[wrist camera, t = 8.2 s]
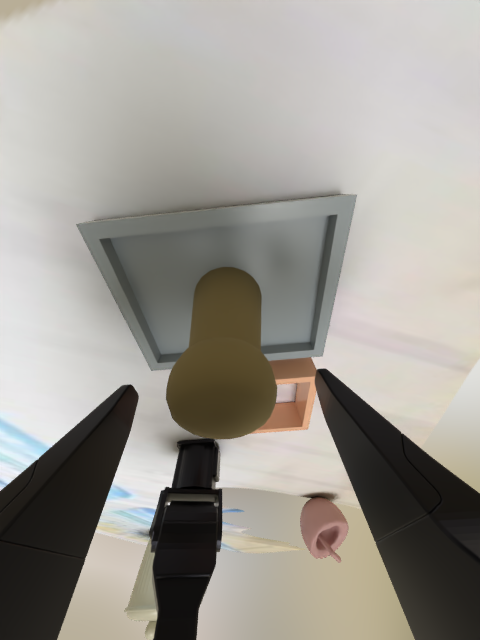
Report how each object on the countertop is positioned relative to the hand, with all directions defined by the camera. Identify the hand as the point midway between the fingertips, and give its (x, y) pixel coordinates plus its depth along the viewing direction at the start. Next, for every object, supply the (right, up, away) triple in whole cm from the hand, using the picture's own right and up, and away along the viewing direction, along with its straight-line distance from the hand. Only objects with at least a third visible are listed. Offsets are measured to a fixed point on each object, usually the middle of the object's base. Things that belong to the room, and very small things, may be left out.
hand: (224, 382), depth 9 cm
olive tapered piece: (0, +5, +8) cm, 9 cm away
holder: (+4, -6, +16) cm, 17 cm away
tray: (0, +5, +8) cm, 10 cm away
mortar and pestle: (+22, -48, +45) cm, 69 cm away
